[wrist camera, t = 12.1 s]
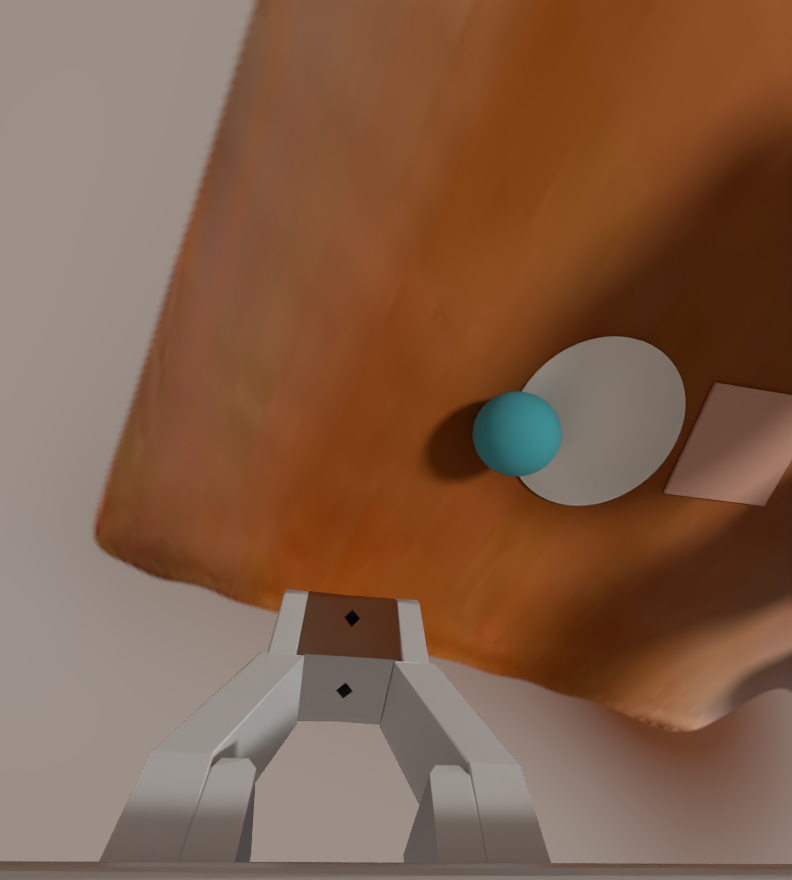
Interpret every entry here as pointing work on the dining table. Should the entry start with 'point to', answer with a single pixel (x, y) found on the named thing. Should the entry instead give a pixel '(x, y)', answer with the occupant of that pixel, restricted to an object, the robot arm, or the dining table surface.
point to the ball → (517, 433)
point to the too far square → (736, 447)
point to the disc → (607, 418)
